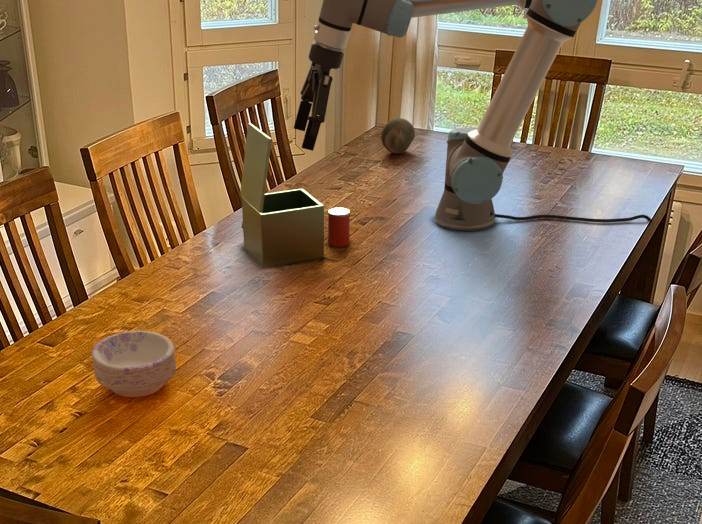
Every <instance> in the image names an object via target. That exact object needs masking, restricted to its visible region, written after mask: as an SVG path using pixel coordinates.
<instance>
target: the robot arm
mask: <svg viewBox="0 0 702 524" xmlns="http://www.w3.org/2000/svg"><path fill="white" fill-rule="evenodd" d="M597 3H598V0H322V5H321V8H320V11H319V16H318V21H317V24H316V25H314V26H313V30H314V36H313V42H312V43H311V46H310V50H309V53H308V59H309V60H310V62H311V64H310V68H309V70H308V72H307V75H306V77H305V79H304V83H303V85H302V88H301V90H300V95H301V96H300V102H299V106H298V109H297V114H296V117H295V121H294V125H293V129H294V130H298V131H302V132H304V137H303V140H302V144H301V149H304V150H309V151H312V152H313V151H314V149H315V146H316V142H317V139H318V136H319V131H320V128H321V125H322V124H323V123H325V120H326V114H327V108H328V102H329V97H330V91H331V87H332V82H333V76H331V74H330V73H331V70H332V69H333V70H337V69H340V68H341V65H342V62H343V58H344V55H345V52H344V50H345V49H347V46H348V43H349V38H350V35H351V31H352V27H353V24H355V25H358V26H361V27H364V28H367V29H370V30H373V31H375V32H379V33H382V34H385V35H387V36H388V37H391V36H392V37H396V38H400V39H401V38H403V37H405V36H406V35H407V31H408V29H409V27H410V23H411V20H412V19H413V18H422V17H428V16H429V17H430V16H437V15H445V14H453V13H454V14H455V13H461V12H469V11H478V10H485V9H495V8H501V7H510V6H519V8H521V9H522V10H525V9H527V11H526V13H525V18H526V21H527V26H526V29H525V31H524V33H523V35H522V37H521V39H520V40H519V43H518V45H517V47H516V49H515V51H514V53H513V55H512V57H511V60H510V61H509V63H508V66H507V68H506V69H505V72H504V73H503V76H502V78H501V80H500V81H499V84H498V86H497V88H496V90H495V92H494V94H493V95H492V98H491V100H490V102H489V104H488V106H487V108H486V111H485V112H484V114H483V116H482V119H481V120H480V122H479V125H478V127H458V128H453V129H451V130H450V131H449V132H448V135H447V140H446V144H447V147H446V160H445V172H444V173H445V175H444V189H443V192H442V195H441V198H440V200H439V203H438V205H437V208H436V210H435V215H434V219H435V220H434V221H435V223H436V224H437V225H438V226H440V227H443V228H445V229H448V230H454V231H460V232H475V231H481V230H485V229H489V228H491V227H492V226H493V225H494V224H495V221H496V218H498V219H507V220H514V221H529V220H536V219H558V220H567V221H579V222H587V223H619V222H620V223H621V222H632V221H635V220H638V219H645V220H646V221H648V222H652V221H653V220H652V218H651V217H650V216H649V215H646V214H637V215H634V216H629V217H622V218H589V217H588V218H587V217H579V216H568V215H559V214H535V215H528V216H514V215H507V214H500V213H496V212H495V208H494V203H493V199H494V197H495V196H497V194H498V193H499V192H500V190H501V188H502V184H503V179H504V175H503V174H504V172H505V170H506V168H507V166H508V164H509V162H510V161H511V159H512V156H513V152H512V147H511V144H512V143H513V140H514V138H515V137H516V135H517V133H518V131H519V130H520V127H521V126H522V123H523V122H524V119H525V118H526V116H527V114H528V111H529V109H530V108H531V105H532V104H533V101H535V98H536V96H537V94H538V92H539V90H540V88H541V86H542V84H543V82H544V80H545V78H546V77H547V75H548V73H549V71H550V69H551V67H552V65H553V63H554V61H555V59H556V57H557V55H558V54H559V52H560V50H561V48H562V45H563V44H564V43H565V42H568V41H570V40H572V39H574V37H575V35H576V33H577V31H578V30H579V28H580V26H581V24H582V23H583V22H585V21H586V19H588V18H589V17H590V16H591V14H592V13H593V11H594V10H595V8H596V7H597Z"/></svg>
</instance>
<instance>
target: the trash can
mask: <svg viewBox="0 0 702 524" xmlns="http://www.w3.org/2000/svg"><path fill="white" fill-rule="evenodd" d="M241 213H242V222H243V229H242V231H243V233H242V234H243V249H244V250H245V251H246V252H247V253H248V254H249V255H250V257H251V258H252V259H253V260H254V261H255V262H256V263H257V264H258V265H259V266H260V267H261V268H262V269H268V268H275V267H280V266H287V265H292V264H298V263H299V264H300V263H305V262H310V261H316V260H323V259H325V205H324V204H323V203H322V202H320V201H319V200H317V199H316V197H314V196H312V195H311V194H310V193H309V192H308V191H306V190H305V189H304V188H295V189H289V190H281V191H275V192H267V193H265V196H264V204H263V212H262V213H259V212H258V211H257V210H256V209H255V208H254V207H252V206H251V205H250V204H249V203H248V202H247V201H246V200H245V199H244V198H243V197H242V196H241Z"/></svg>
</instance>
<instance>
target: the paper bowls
mask: <svg viewBox="0 0 702 524" xmlns="http://www.w3.org/2000/svg"><path fill="white" fill-rule="evenodd" d="M91 360H92V365H93V373H94V377H95V380H96V381H97V383H98V384H99V385H100V386H103V387H104V388H106V389H108V390H110V391H112V392H113V393H114V394H116V395H117V396H121V397H125V398H142V397H146V396H150V395H153V394H155V393H157V392H158V391H160V390H161V389H162V388H163V387H164V385H165V383H166V382H168V381H170V380H171V379H172V378H173V377H174V375H175V374H176V372H177V362H176V352H175V346H174V342H173V341H172V340H171V339H170V338H168V337H167V336H165V335H163V334H162V333H158V332H154V331H148V330H130V331H129V330H128V331H123V332H119V333H115V334H112V335H110V336H107V337H105V338H103V339H101V340H100V341H99V342H96V344H95V345H94V347H93V349H92V351H91Z"/></svg>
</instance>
